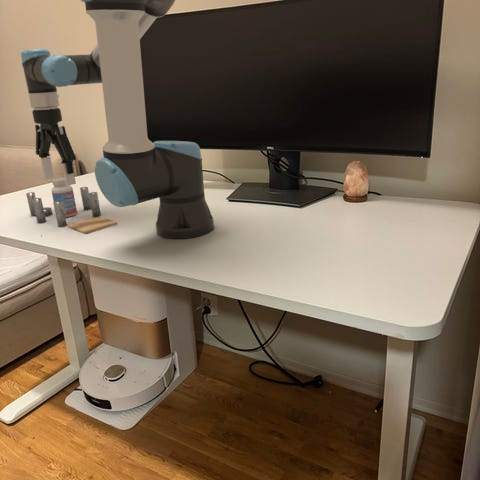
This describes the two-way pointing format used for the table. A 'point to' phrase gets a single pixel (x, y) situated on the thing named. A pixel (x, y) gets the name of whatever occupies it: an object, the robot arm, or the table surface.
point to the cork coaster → (92, 225)
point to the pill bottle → (64, 196)
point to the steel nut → (48, 211)
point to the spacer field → (88, 202)
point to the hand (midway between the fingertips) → (59, 181)
